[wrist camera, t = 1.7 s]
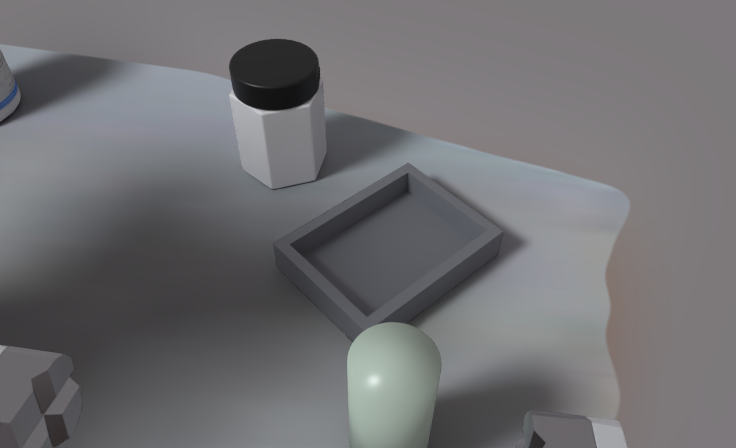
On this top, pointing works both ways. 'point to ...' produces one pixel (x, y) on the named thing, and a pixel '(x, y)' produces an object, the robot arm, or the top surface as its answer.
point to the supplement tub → (7, 90)
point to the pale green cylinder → (392, 387)
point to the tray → (387, 251)
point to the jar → (278, 111)
